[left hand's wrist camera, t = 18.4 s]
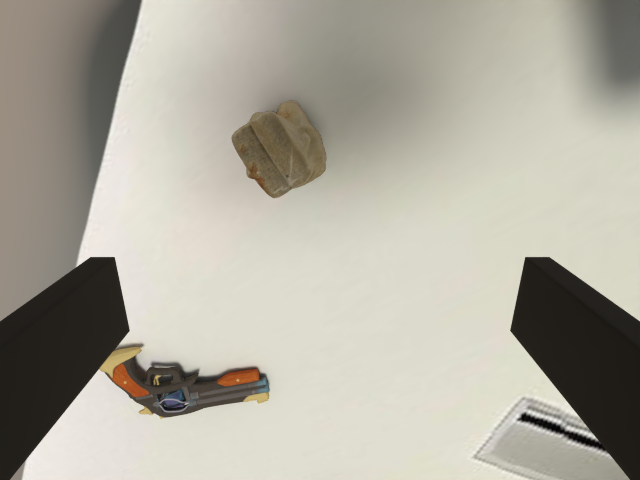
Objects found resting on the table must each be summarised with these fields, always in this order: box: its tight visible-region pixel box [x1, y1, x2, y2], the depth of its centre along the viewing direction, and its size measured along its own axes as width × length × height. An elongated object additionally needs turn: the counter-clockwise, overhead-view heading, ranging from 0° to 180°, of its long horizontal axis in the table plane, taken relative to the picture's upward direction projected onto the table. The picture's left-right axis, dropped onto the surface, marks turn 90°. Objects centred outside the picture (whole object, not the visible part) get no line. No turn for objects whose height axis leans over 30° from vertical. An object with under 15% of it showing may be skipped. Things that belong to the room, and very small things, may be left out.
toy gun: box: [99, 347, 269, 419], centre depth 47 cm, size 3×19×10 cm
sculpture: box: [232, 101, 326, 198], centre depth 31 cm, size 6×7×15 cm
